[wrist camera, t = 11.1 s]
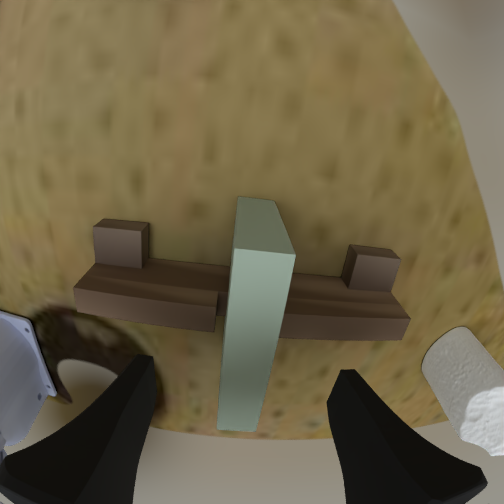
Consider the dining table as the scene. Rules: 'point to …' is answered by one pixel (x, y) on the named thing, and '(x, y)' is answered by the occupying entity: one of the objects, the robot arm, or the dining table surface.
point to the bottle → (468, 388)
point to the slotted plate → (253, 311)
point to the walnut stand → (217, 285)
